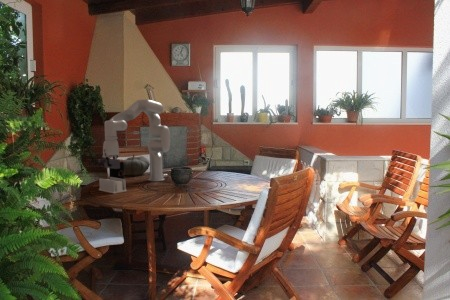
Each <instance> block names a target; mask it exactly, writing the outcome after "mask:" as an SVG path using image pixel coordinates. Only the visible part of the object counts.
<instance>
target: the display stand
mask: <svg viewBox="0 0 450 300" xmlns="http://www.w3.org/2000/svg"><path fill="white" fill-rule="evenodd" d="M98 180H99V182H98V183H99V188H98V191H101V192H105V193H109V194H119V193H124V192H127V190H128V189H127V188H126V187H127V186H126V185H127V184H126V181H127V180H126V178H125V179H120V178H115V177H110V176H109V178H99V179H98Z"/></svg>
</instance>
